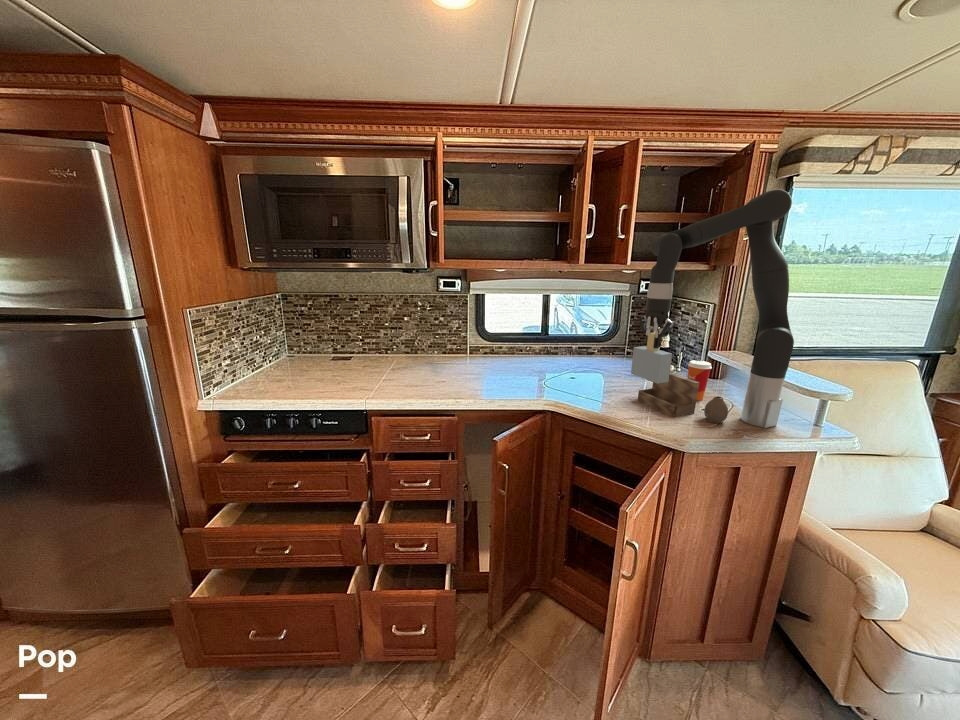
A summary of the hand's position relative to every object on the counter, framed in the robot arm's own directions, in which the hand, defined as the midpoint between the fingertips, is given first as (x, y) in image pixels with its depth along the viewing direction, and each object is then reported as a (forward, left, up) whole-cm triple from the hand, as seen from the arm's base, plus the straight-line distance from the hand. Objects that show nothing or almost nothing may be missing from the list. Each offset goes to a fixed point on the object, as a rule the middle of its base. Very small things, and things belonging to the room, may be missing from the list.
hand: (652, 346), depth 126 cm
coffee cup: (+4, -31, -25) cm, 40 cm away
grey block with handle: (0, 0, -11) cm, 11 cm away
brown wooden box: (+2, -12, -25) cm, 28 cm away
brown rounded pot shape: (-14, -18, -25) cm, 34 cm away
